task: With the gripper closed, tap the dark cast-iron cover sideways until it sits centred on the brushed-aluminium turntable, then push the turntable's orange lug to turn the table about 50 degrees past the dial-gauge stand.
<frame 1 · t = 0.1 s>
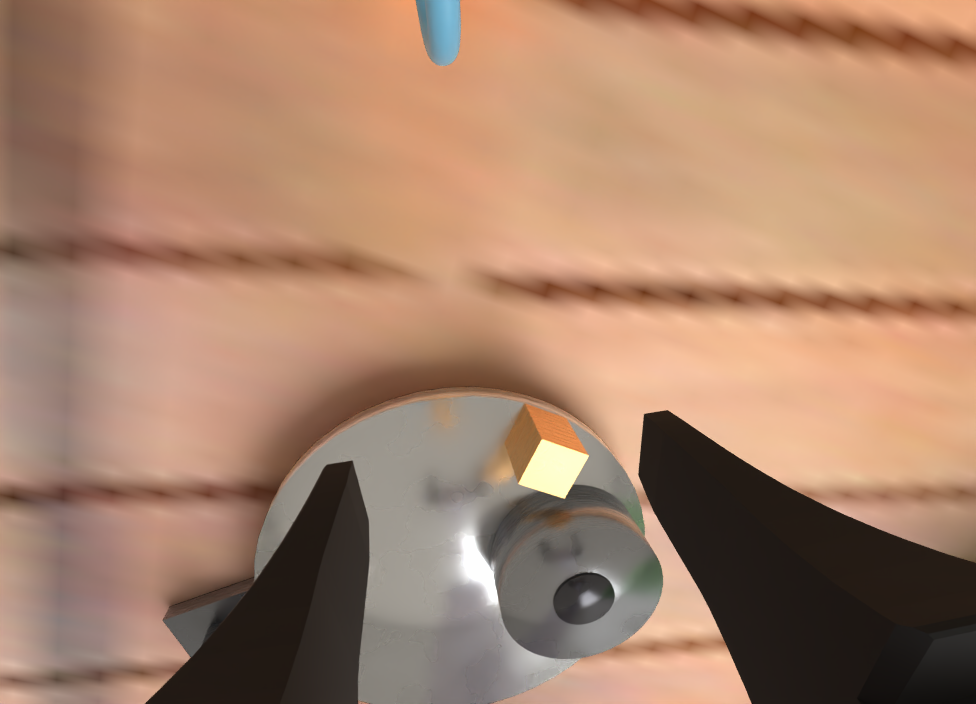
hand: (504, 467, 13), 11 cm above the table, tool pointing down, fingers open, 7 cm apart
cover: (563, 547, 25), point 2 cm above the table, touching turntable
turntable: (461, 589, 24), point 3 cm above the table, hinge at 0.0°, touching cover
dial stand: (238, 617, 26), on the table
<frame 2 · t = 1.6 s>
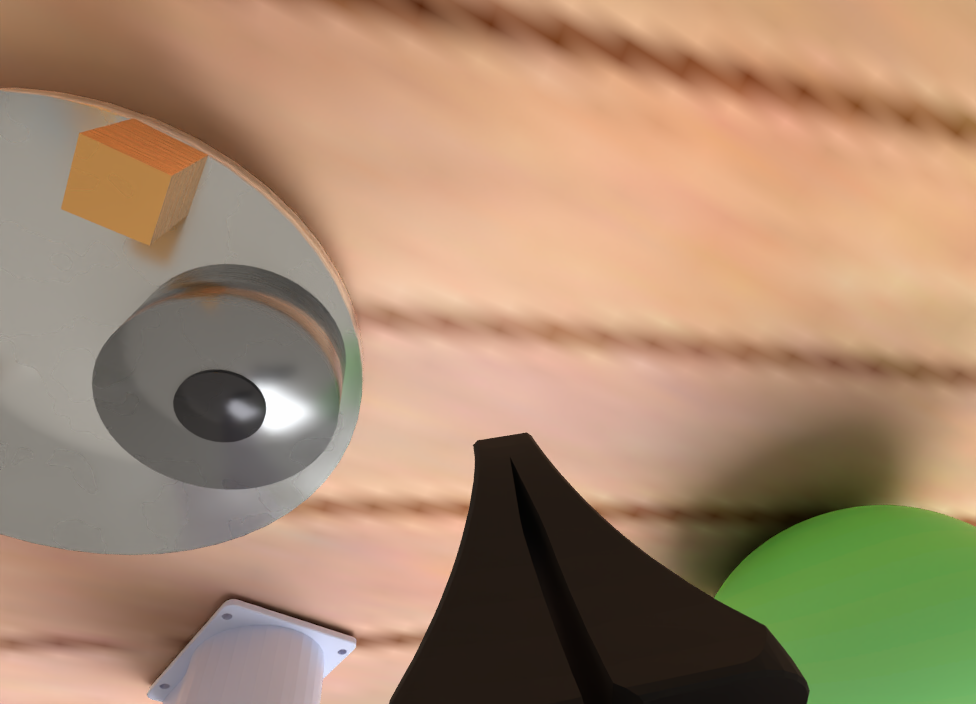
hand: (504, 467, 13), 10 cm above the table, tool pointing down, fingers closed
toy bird: (789, 556, 34), on the table
cover: (245, 356, 19), point 2 cm above the table, touching turntable
turntable: (84, 392, 18), point 3 cm above the table, hinge at 0.0°, touching cover
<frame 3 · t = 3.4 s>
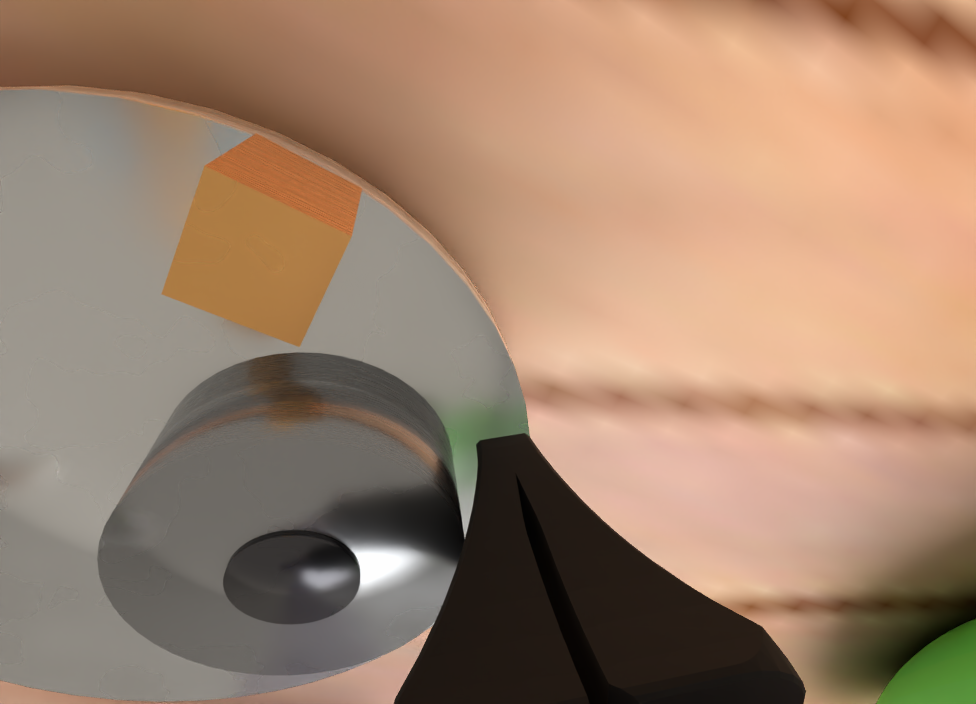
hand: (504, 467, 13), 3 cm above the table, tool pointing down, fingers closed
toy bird: (954, 641, 29), on the table
cover: (314, 473, 13), point 2 cm above the table, touching gripper
turntable: (157, 526, 12), point 3 cm above the table, hinge at 0.0°
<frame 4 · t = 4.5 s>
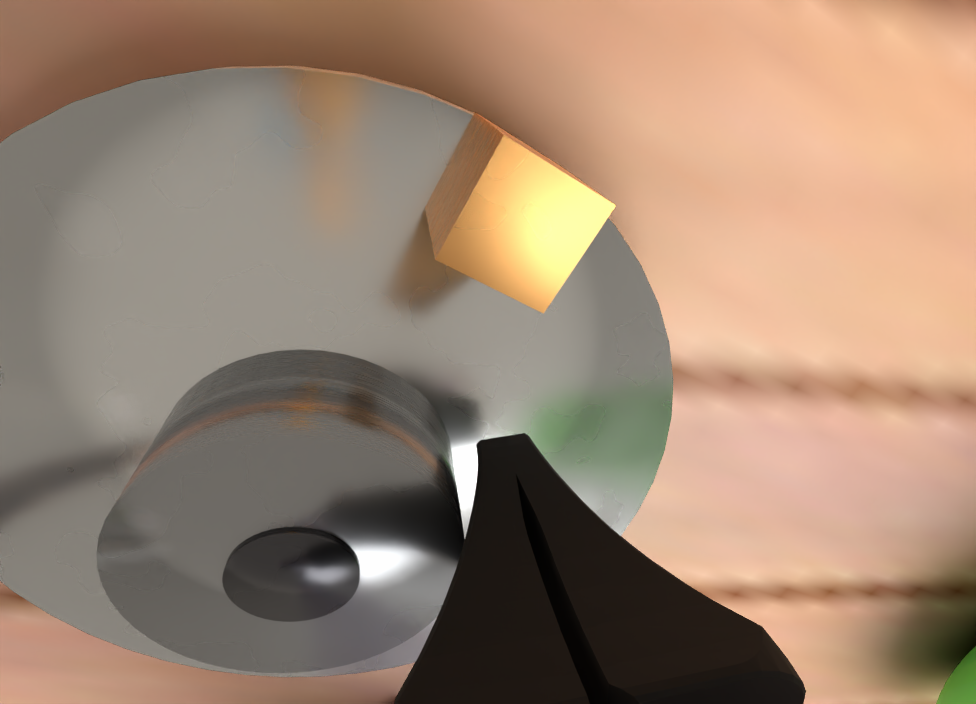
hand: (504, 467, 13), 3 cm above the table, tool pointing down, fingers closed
cover: (313, 470, 13), point 2 cm above the table, touching gripper, turntable
turntable: (329, 497, 13), point 3 cm above the table, hinge at 0.0°, touching cover
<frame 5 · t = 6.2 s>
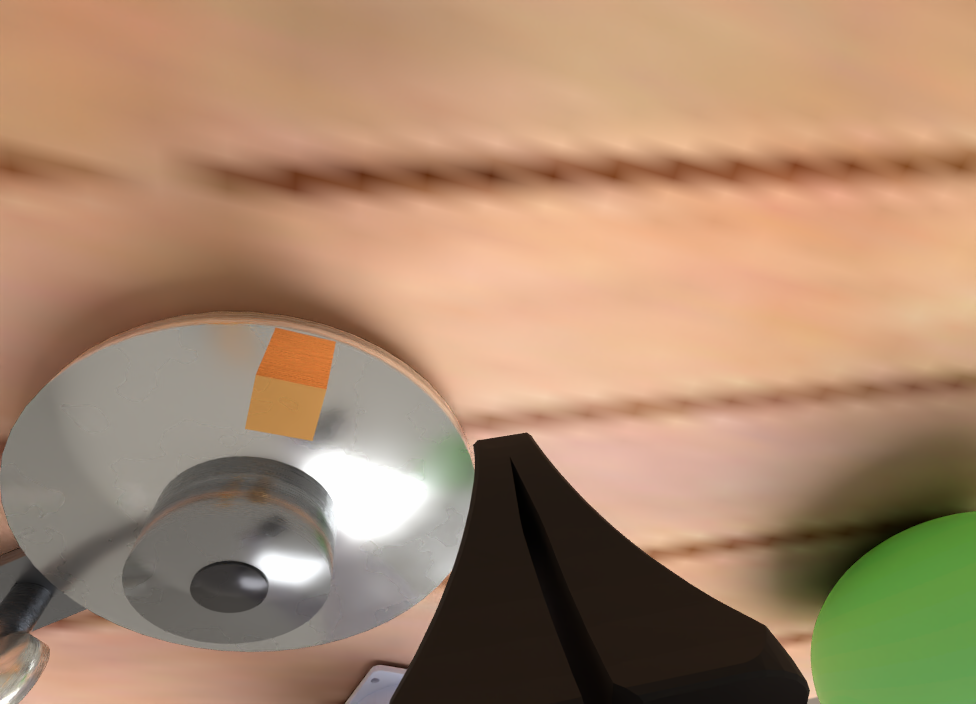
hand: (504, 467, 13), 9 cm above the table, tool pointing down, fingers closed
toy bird: (889, 559, 35), on the table
cover: (250, 521, 22), point 2 cm above the table, touching turntable
turntable: (256, 538, 21), point 3 cm above the table, hinge at 0.0°, touching cover
dial stand: (50, 575, 24), on the table
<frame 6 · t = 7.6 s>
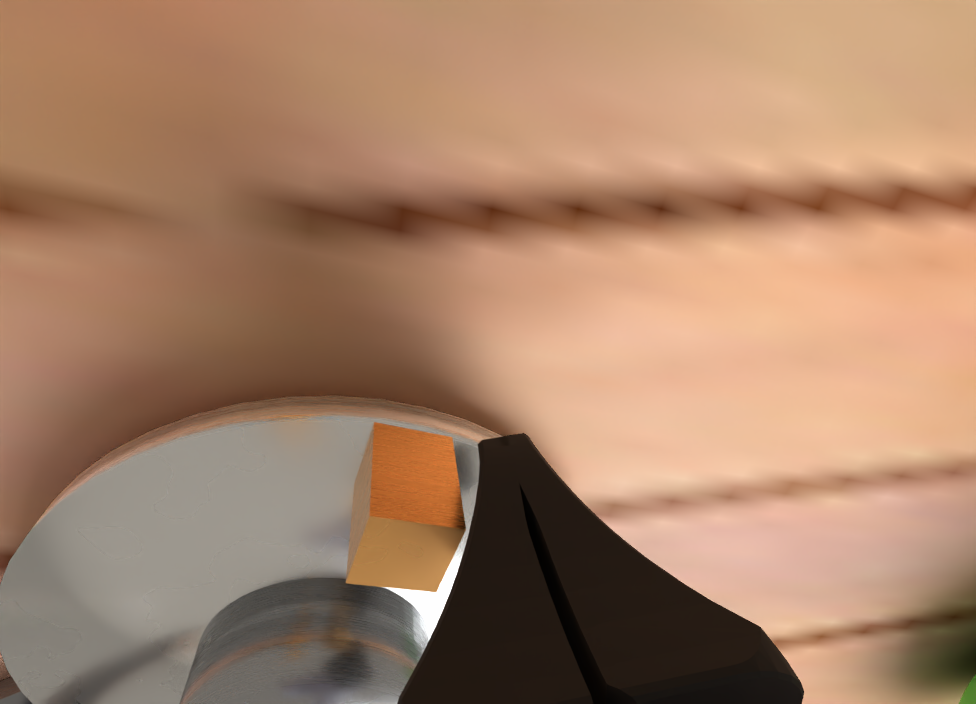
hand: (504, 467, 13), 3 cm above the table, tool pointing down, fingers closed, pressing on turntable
cover: (318, 650, 17), point 2 cm above the table, touching turntable
turntable: (330, 677, 16), point 3 cm above the table, hinge at 0.0°, touching cover, gripper
dial stand: (60, 699, 19), on the table
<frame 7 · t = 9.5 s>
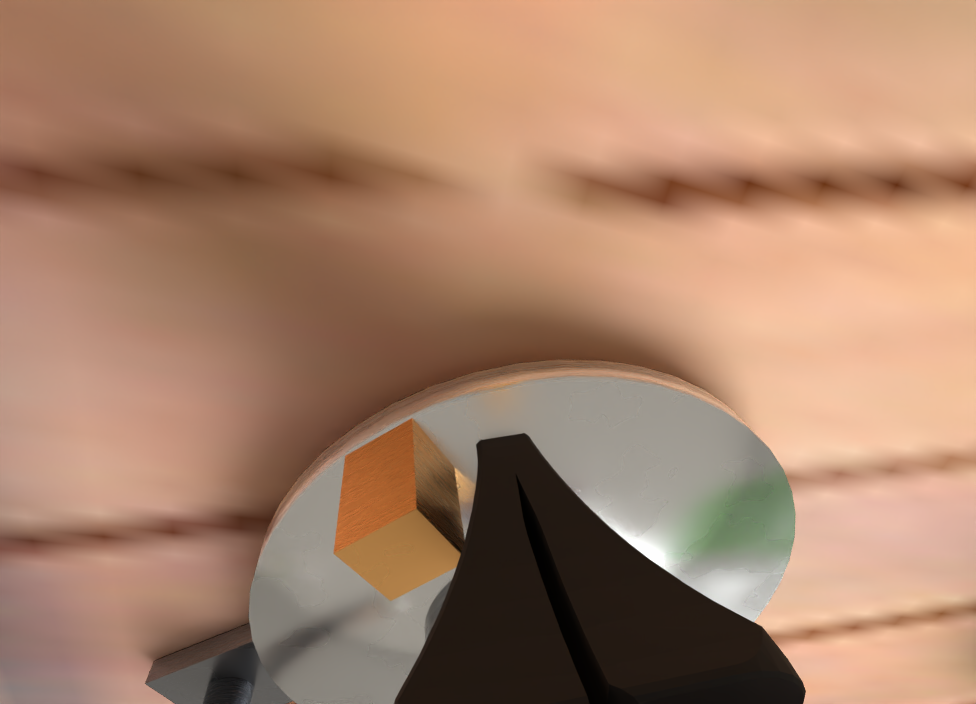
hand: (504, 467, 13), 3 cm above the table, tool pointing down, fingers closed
cover: (529, 616, 18), point 2 cm above the table, touching turntable
turntable: (544, 635, 17), point 3 cm above the table, hinge at 50.4°, touching cover, gripper
dial stand: (247, 663, 20), on the table
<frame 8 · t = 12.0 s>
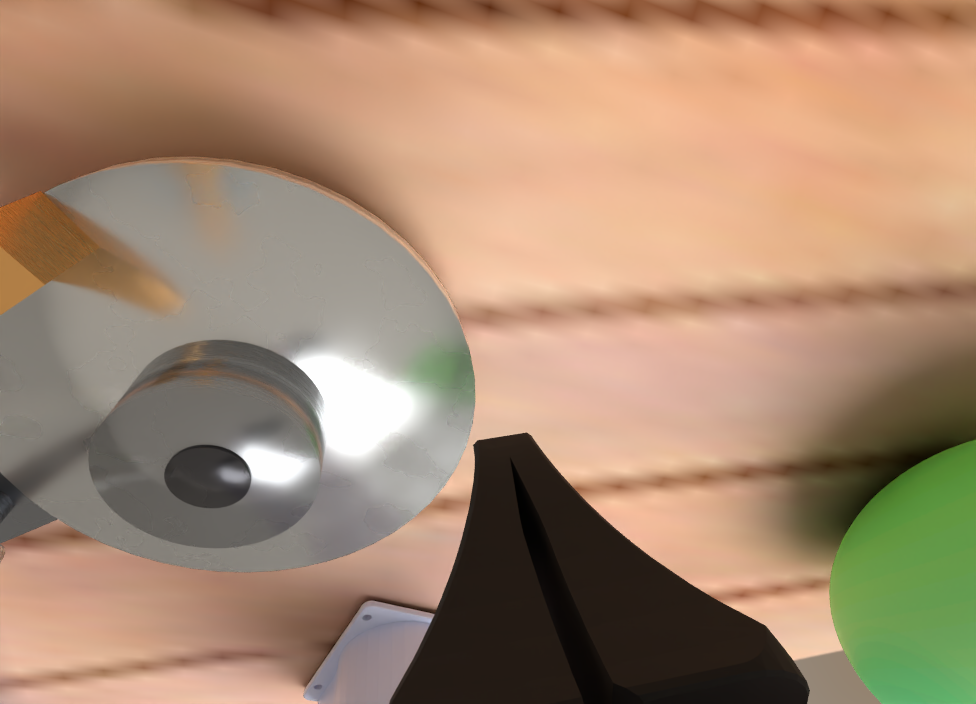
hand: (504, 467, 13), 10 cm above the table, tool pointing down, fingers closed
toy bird: (911, 497, 33), on the table
cover: (233, 420, 20), point 2 cm above the table, touching turntable
turntable: (231, 427, 19), point 3 cm above the table, hinge at 50.4°, touching cover
dial stand: (12, 483, 22), on the table
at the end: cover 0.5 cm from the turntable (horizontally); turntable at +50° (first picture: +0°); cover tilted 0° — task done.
